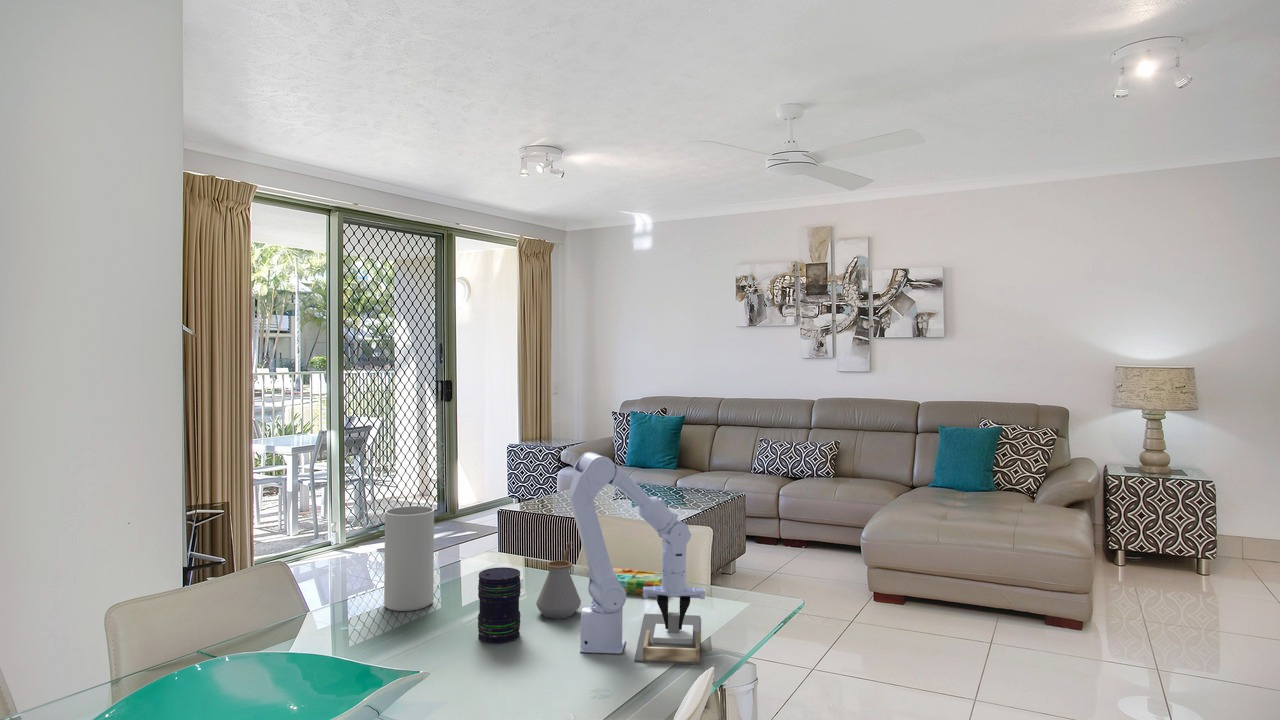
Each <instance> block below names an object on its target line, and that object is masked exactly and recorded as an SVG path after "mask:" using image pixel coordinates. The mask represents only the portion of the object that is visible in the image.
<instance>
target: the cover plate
mask: <svg viewBox="0 0 1280 720" xmlns="http://www.w3.org/2000/svg"><path fill="white" fill-rule="evenodd" d="M679 615H680V612H677V611H675V612H673V611H672V612H670V611H668V629H665V624H656V625H655V631H654V637H653V643H671V644H693V625H682V630H679Z"/></svg>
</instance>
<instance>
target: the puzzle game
mask: <svg viewBox="0 0 1280 720" xmlns="http://www.w3.org/2000/svg"><path fill="white" fill-rule="evenodd" d="M612 568H613V570H614V572H615V574H616V576H617V578H618V582H619V583H620V585H621V586H622V587H623V588H624V589H625V591H626V594H628V593H632V594H631V595H638V594H643V587H653V586H662V572H658V571H657V572H656V571H648V570H647V571H646V570H636V569H632V568H629V567H627V568H619V567H617V568H616V567H612Z"/></svg>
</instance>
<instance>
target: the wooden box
mask: <svg viewBox="0 0 1280 720" xmlns="http://www.w3.org/2000/svg"><path fill="white" fill-rule="evenodd" d="M649 644H650V630H647V631H646V636H645V641H644V646H643V660H659V661H684V662H699V655H700V656H701V652H700V651H701V631H700V632H696V648H671V647H649Z"/></svg>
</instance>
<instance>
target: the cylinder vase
mask: <svg viewBox="0 0 1280 720" xmlns="http://www.w3.org/2000/svg"><path fill="white" fill-rule="evenodd" d="M434 545H435V508H434V507H433V506H432V507H431V506H426V505H425V506H424V505H408V506H407V505H406V506H398V507H392V508H389V509H386V510H385V511H384V571H383V572H384V574H383V575H384V576H383V577H384V578H383V580H384V581H383V582H384V583H383V587H384V589H383V593H384V594H383V595H384V597H383V602H384V603H383V605H384V606H385V608H386V609H387V610H390V611H395V612H411V611H418V610H422V609H425V608H428V607H429V606H430V605H432V604H433V602H434V583H435V582H434V580H435V579H434V576H435V575H434V573H435V571H434V570H435V569H434V568H435V567H434V566H435V564H434V563H435V558H434V555H435V554H434V552H435V546H434Z"/></svg>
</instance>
